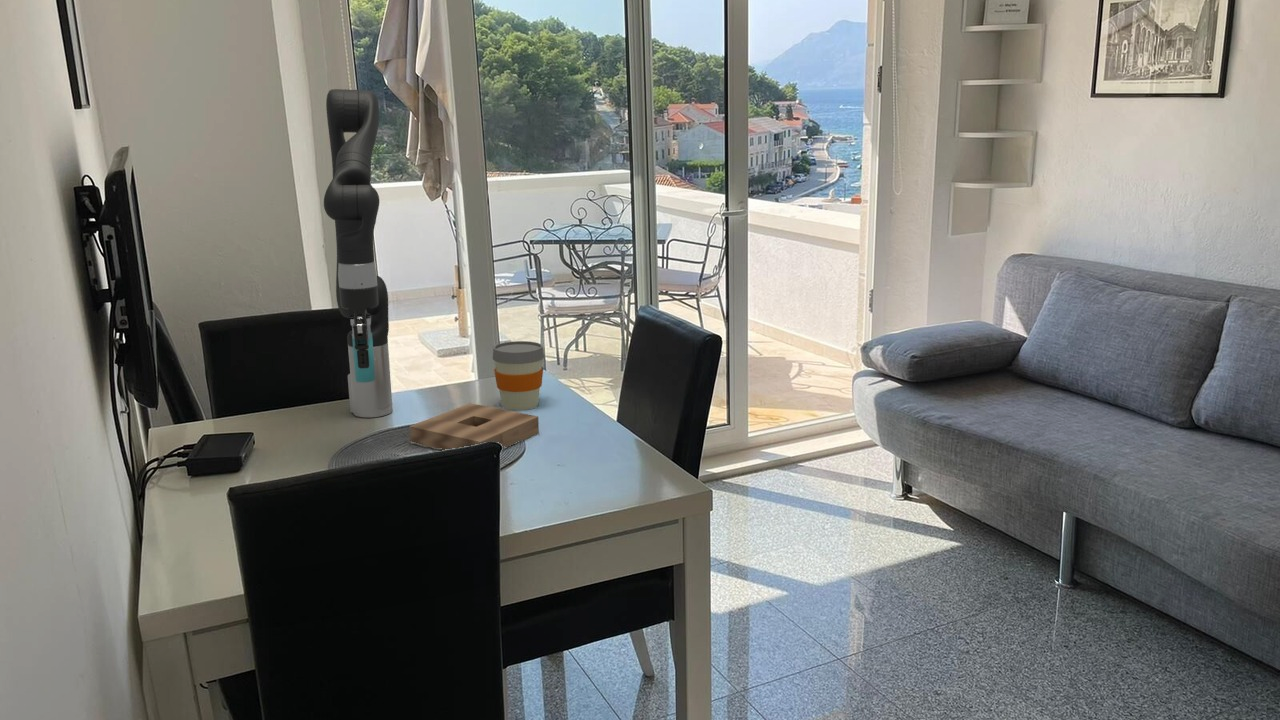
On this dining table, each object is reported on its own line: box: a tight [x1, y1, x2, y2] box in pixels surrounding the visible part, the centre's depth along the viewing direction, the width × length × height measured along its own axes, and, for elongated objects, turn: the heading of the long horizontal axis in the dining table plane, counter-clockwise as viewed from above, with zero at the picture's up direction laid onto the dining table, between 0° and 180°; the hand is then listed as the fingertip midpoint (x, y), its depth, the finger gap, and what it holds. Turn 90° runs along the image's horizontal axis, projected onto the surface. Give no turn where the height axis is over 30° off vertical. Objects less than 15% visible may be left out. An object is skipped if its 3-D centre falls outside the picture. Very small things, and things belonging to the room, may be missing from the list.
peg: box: [352, 332, 375, 382], centre depth 192 cm, size 4×4×10 cm
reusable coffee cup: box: [492, 340, 545, 412], centre depth 228 cm, size 13×13×15 cm
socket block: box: [409, 402, 540, 451], centre depth 205 cm, size 20×20×4 cm
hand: (364, 364), depth 193 cm, fingers closed on peg, 4 cm apart
